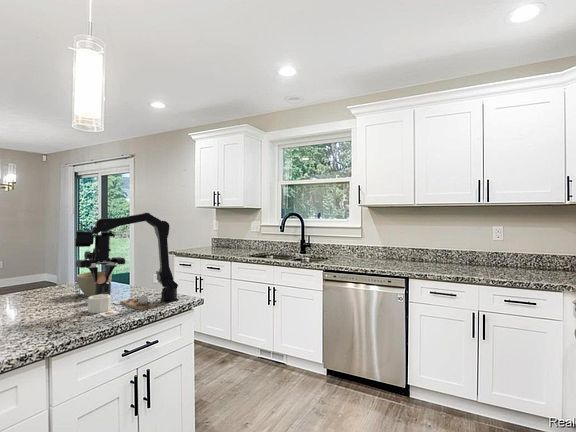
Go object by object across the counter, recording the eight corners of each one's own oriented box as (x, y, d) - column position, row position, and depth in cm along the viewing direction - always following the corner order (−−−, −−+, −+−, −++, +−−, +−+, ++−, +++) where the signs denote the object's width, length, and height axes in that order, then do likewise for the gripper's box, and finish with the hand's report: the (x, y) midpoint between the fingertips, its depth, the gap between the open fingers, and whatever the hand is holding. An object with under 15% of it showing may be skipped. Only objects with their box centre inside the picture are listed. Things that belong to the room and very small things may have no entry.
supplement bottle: (103, 303, 157) (103, 278, 157) (91, 302, 158) (91, 277, 158) (113, 299, 163) (114, 275, 163) (102, 298, 165) (102, 274, 165)
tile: (113, 311, 144) (113, 309, 144) (119, 313, 141) (119, 312, 141) (98, 314, 139) (98, 313, 139) (105, 317, 136) (105, 315, 136)
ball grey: (145, 302, 154) (145, 294, 154) (149, 304, 152) (149, 295, 152) (136, 304, 151) (136, 295, 151) (141, 306, 149) (141, 297, 149)
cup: (105, 306, 151) (105, 293, 151) (113, 309, 146) (114, 296, 146) (85, 310, 144) (85, 296, 144) (93, 314, 139) (93, 300, 139)
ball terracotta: (103, 282, 149) (103, 273, 149) (107, 283, 146) (107, 274, 146) (93, 283, 145) (94, 274, 145) (97, 285, 143) (98, 275, 143)
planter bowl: (68, 297, 167) (68, 276, 166) (93, 290, 182) (94, 270, 182) (95, 299, 163) (95, 277, 163) (118, 292, 179) (119, 272, 179)
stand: (136, 300, 163) (136, 296, 163) (156, 306, 152) (156, 303, 152) (120, 303, 157) (120, 300, 157) (140, 310, 146) (140, 306, 146)
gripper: (114, 244, 158) (113, 276, 158) (71, 246, 143) (69, 281, 143) (126, 246, 152) (125, 279, 151) (81, 248, 137) (80, 285, 136)
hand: (100, 281), depth 146 cm, fingers closed on ball terracotta, 4 cm apart
